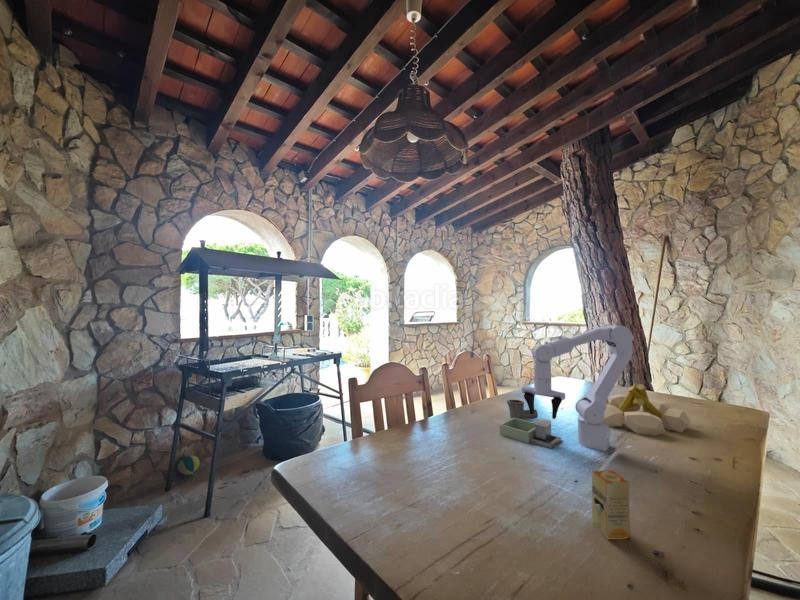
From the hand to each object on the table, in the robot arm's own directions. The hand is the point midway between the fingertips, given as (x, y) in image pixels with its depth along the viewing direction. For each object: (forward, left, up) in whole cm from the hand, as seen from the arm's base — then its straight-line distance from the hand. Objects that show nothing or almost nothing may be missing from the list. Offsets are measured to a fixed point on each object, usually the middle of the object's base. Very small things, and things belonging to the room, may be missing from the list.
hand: (543, 415), depth 119 cm
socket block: (0, 0, -10) cm, 10 cm away
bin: (+8, 0, -10) cm, 13 cm away
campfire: (-18, -51, -10) cm, 55 cm away
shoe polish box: (-30, +36, -10) cm, 48 cm away
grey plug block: (0, 0, -9) cm, 9 cm away
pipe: (+17, -19, -10) cm, 28 cm away
